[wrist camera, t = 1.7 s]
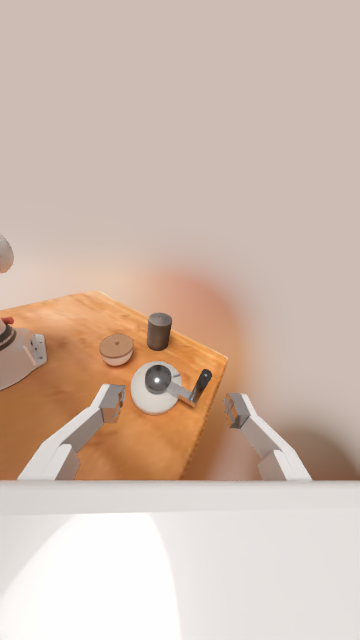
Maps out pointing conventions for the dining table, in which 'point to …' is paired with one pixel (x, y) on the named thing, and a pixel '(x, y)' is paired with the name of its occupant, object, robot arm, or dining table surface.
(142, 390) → the light grey round disc
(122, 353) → the lidded jar
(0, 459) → the dining table surface
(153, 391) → the saucepan with upright handle
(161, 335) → the pillar candle
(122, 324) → the dining table surface
